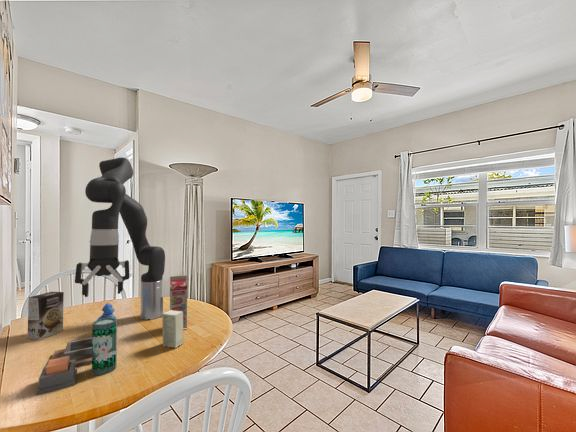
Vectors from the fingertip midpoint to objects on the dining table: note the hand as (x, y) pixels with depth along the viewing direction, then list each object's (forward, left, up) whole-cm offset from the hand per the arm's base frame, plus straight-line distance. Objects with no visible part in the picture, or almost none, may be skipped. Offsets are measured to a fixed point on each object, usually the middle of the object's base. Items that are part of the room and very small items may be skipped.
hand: (103, 294), depth 87 cm
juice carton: (-27, -20, -23) cm, 40 cm away
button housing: (+10, +3, -23) cm, 25 cm away
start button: (+10, +3, -20) cm, 23 cm away
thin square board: (+5, -11, -23) cm, 26 cm away
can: (-1, +2, -23) cm, 23 cm away
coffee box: (+19, -40, -23) cm, 50 cm away
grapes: (-1, -28, -23) cm, 36 cm away
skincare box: (-22, -4, -23) cm, 32 cm away
